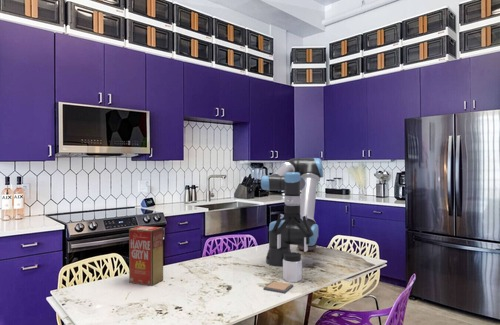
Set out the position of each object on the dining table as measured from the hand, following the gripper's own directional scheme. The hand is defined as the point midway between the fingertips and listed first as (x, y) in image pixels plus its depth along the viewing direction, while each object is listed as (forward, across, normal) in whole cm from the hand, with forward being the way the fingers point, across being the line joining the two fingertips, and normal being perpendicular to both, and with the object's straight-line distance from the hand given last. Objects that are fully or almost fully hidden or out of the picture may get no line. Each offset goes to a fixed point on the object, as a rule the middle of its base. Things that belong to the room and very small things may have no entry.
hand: (292, 249), depth 169 cm
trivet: (+14, -1, -14) cm, 20 cm away
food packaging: (+15, -59, -34) cm, 70 cm away
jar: (+14, 0, 0) cm, 14 cm away
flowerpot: (+14, -13, +60) cm, 62 cm away
